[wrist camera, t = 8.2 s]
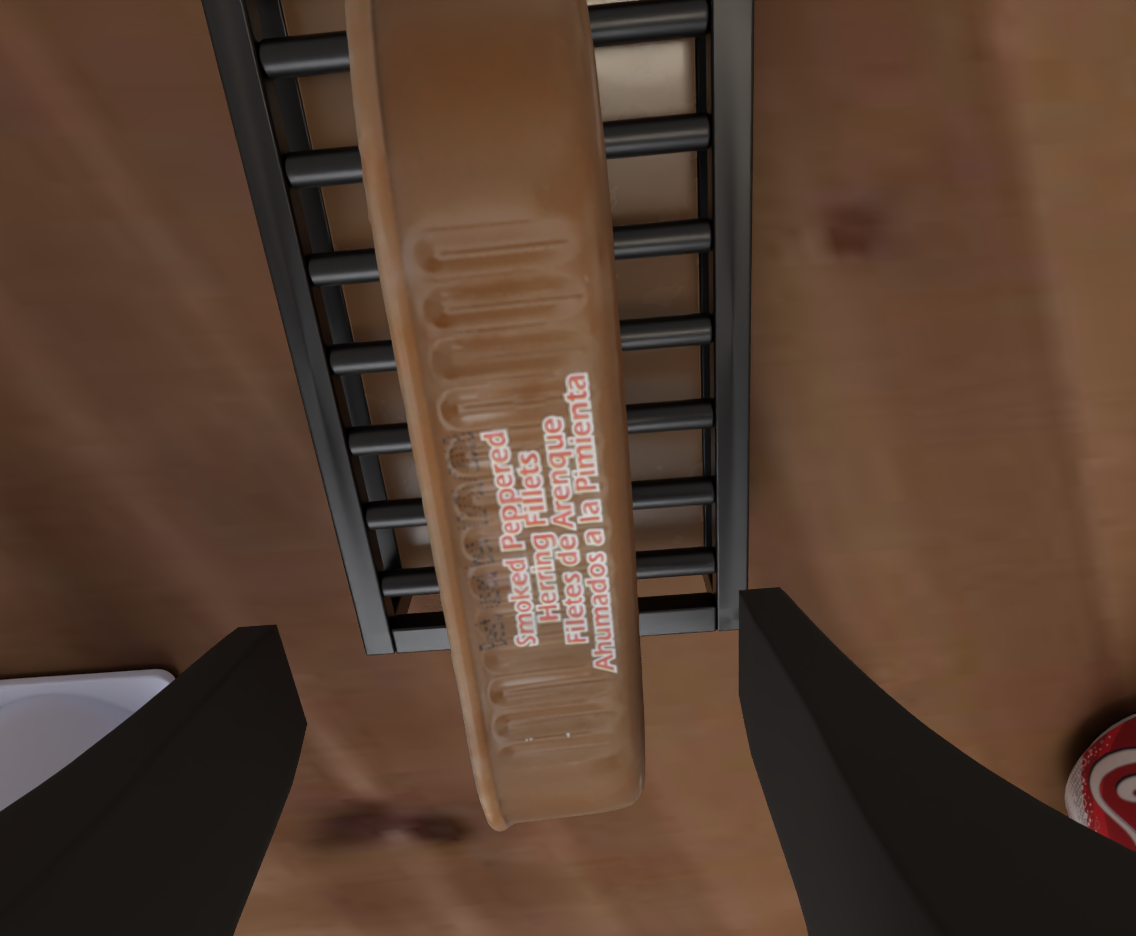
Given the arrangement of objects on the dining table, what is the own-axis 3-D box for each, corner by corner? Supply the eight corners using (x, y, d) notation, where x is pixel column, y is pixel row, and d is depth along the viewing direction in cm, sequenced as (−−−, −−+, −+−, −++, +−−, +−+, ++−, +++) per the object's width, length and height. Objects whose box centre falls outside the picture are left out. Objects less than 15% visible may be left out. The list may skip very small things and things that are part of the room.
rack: (724, 556, 24) (748, 630, 21) (392, 580, 24) (365, 656, 21) (722, -91, 17) (756, -126, 14) (253, -40, 17) (183, -63, 14)
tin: (402, -62, 14) (209, -207, 7) (581, -81, 14) (592, -250, 7) (505, 628, 21) (468, 946, 13) (627, 620, 21) (660, 936, 13)
